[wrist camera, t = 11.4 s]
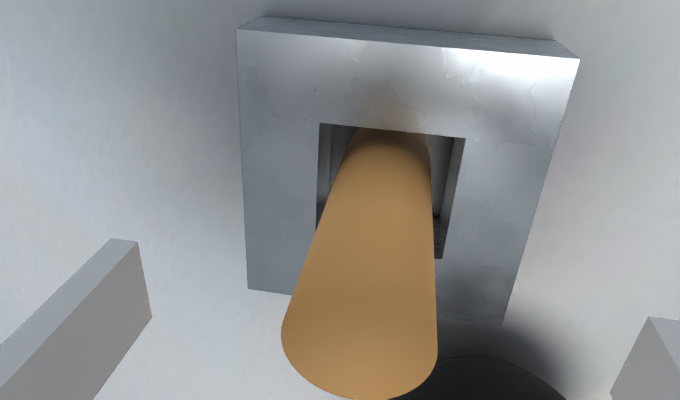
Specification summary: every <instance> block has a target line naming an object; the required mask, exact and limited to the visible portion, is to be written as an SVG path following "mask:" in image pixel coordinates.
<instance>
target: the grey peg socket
mask: <svg viewBox="0 0 680 400" xmlns="http://www.w3.org/2000/svg"><path fill="white" fill-rule="evenodd" d="M236 48H237V69H238V90H239V111H240V132H241V153H242V175H243V196H244V217H245V238H246V259H247V281H248V289H253V290H260V291H266V292H273V293H280V294H287V295H293V293H294V290H295V287H296V284H297V282H298V279H299V276H300V273H301V271H302V268H303V265H304V263H305V260H306V257H307V254H308V252H309V249H310V246H311V243H312V241H313V238H314V235H315V232H316V230H317V227H318V224H319V222H320V219H321V216H322V213H323V211H324V208H325V205H326V202H327V200H328V197H329V182H330V163H331V144H332V124H337V125H346V126H356V127H365V128H375V129H384V130H393V131H403V132H412V133H421V134H431V135H440V136H449V137H454V143H453V148H452V154H451V159H450V164H449V170H448V175H447V181H446V186H445V191H444V197H443V202H442V208H441V213H440V218H439V219H438V218H433V242H434V267H435V293H436V316H437V317H444V318H451V319H458V320H465V321H472V322H478V323H485V324H492V325H499V326H502V322H503V319H504V315H505V312H506V309H507V305H508V302H509V299H510V295H511V292H512V288H513V285H514V282H515V278H516V275H517V272H518V268H519V265H520V261H521V258H522V255H523V251H524V248H525V245H526V241H527V238H528V234H529V231H530V228H531V224H532V221H533V218H534V214H535V211H536V207H537V204H538V201H539V197H540V194H541V191H542V187H543V184H544V180H545V177H546V174H547V170H548V167H549V164H550V160H551V157H552V153H553V150H554V147H555V143H556V140H557V137H558V133H559V130H560V126H561V123H562V120H563V116H564V113H565V110H566V106H567V103H568V99H569V96H570V93H571V89H572V86H573V83H574V79H575V76H576V72H577V69H578V66H579V62H580V59H579V58H578V57H577V56H575V55H574V54H573V53H571V52H570V51H568V50H567V49H566V48H564V47H563V46H562V45H560V44H559V43H558V42H556V41H555V40H543V39H531V38H519V37H507V36H495V35H483V34H471V33H459V32H447V31H436V30H424V29H412V28H400V27H388V26H376V25H364V24H352V23H340V22H328V21H317V20H305V19H293V18H281V17H269V16H263V17H261V18H258V19H256V20H254V21H252V22H250V23H248V24H246V25H243V26H241V27H239V28H237V29H236Z"/></svg>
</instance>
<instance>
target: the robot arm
mask: <svg viewBox="0 0 680 400" xmlns="http://www.w3.org/2000/svg"><path fill="white" fill-rule="evenodd" d="M151 318H152V315H151V309H150V304H149V299H148V294H147V289H146V284H145V278H144V273H143V268H142V263H141V258H140V253H139V247H138V242H134V241H127V240H120V239H113V238H111V239H110V240H109V241H108V242H107V243H106V244H105V245H104V246H103V247H102V248H101V249H100V250H98V251H97V252H96V253H95V254H94V255H93V256H92V257H91V258H90V259H89V260H88V261H87V262H86V263H85V264H84V265H83V266H82V267H81V268H80V269H79V270H78V271H77V272H76V273H75V274H74V275H73V276H72V277H71V278H70V279H69V280H67V281H66V282H65V283H64V284H63V285H62V286H61V287H60V288H59V289H58V290H57V291H56V292H55V293H54V294H53V295H52V296H51V297H50V298H49V299H48V300H47V301H46V302H45V303H44V304H43V305H42V306H41V307H40V308H39V309H38V310H36V311H35V312H34V313H33V314H32V315H31V316H30V317H29V318H28V319H27V320H26V321H25V322H24V323H23V324H22V325H21V326H20V327H19V328H18V329H17V330H16V331H15V332H14V333H13V334H12V335H11V336H10V337H9V338H8V339H7V340H5V341H4V342H3V343H2V344H1V345H0V400H93V399H94V397H95V396H96V395H97V393H98V392H99V391H100V389H101V388H102V386H103V385H104V384H105V382H106V381H107V379H108V378H109V377H110V375H111V374H112V372H113V371H114V370H115V368H116V367H117V365H118V364H119V363H120V361H121V360H122V358H123V357H124V356H125V354H126V353H127V351H128V350H129V349H130V347H131V346H132V344H133V343H134V342H135V340H136V339H137V337H138V336H139V335H140V333H141V332H142V330H143V329H144V328H145V326H146V325H147V323H148V322H149V321H150V319H151ZM610 394H611V396H612V399H613V400H680V321H677V320H670V319H664V318H657V317H650V316H648V318H647V320H646V322H645V324H644V326H643V328H642V330H641V332H640V334H639V336H638V338H637V340H636V342H635V344H634V346H633V348H632V350H631V352H630V354H629V356H628V358H627V359H626V361H625V363H624V365H623V367H622V369H621V371H620V373H619V375H618V377H617V379H616V381H615V383H614V385H613V387H612V389H611V391H610Z"/></svg>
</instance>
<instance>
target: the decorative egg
mask: <svg viewBox="0 0 680 400" xmlns="http://www.w3.org/2000/svg"><path fill="white" fill-rule="evenodd" d="M389 400H566V399H565V398H564V397H563V396H562V395H561V394H560V393H558V392H557V391H556V390H555V389H553V388H552V387H551V386H549V385H548V384H547V383H545V382H544V381H543V380H541V379H539V378H538V377H536V376H534V375H533V374H531V373H529V372H527V371H525V370H523V369H521V368H519V367H516V366H514V365H512V364H509V363H506V362H502V361H499V360H495V359H489V358H482V357H460V358H454V359H449V360H444V361H441V362H438V363H436V364H435V366H434V368H433V370H432V372H431V373H430V375H429V376H428V377H427V379H426V380H425V381H424V382H423V383H421V384H420V385H419V386H418V387H416V388H415V389H413V390H411V391H409V392H408V393H405V394H403V395H400V396H397V397H394V398H390V399H389Z"/></svg>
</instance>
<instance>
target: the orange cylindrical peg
mask: <svg viewBox="0 0 680 400" xmlns="http://www.w3.org/2000/svg"><path fill="white" fill-rule="evenodd" d="M281 341H282V345H283V349H284V352H285V354H286V356H287V358H288V360H289V361H290V363H291V364H292V366H293V367H294V368H295V369H296V371H297V372H298V373H299V374H300V375H302V376H303V377H304V378H305V379H306V380H308V381H309V382H310V383H312V384H313V385H315V386H317V387H318V388H320V389H322V390H324V391H327V392H329V393H331V394H334V395H337V396H341V397H344V398H349V399H355V400H384V399H390V398H394V397H397V396H400V395H403V394H405V393H408V392H409V391H411V390H413V389H415V388H416V387H418V386H419V385H420V384H421V383H423V382H424V381H425V380H426V379H427V377H428V376H429V375H430V373H431V372H432V370H433V368H434V366H435V363H436V360H437V353H438V344H437V318H436V293H435V267H434V242H433V217H432V191H431V166H430V151H429V147H428V145H427V142H426V140H425V139H424V137H423V136H422V134H421V133H412V132H403V131H393V130H384V129H375V128H365V127H360V128H359V129H358V130H357V131H356V132H355V133H354V134H353V135H352V137H351V139H350V140H349V143H348V145H347V148H346V150H345V153H344V156H343V159H342V161H341V164H340V167H339V170H338V172H337V175H336V178H335V181H334V183H333V186H332V189H331V191H330V194H329V197H328V200H327V202H326V205H325V208H324V211H323V213H322V216H321V219H320V222H319V224H318V227H317V230H316V232H315V235H314V238H313V241H312V243H311V246H310V249H309V252H308V254H307V257H306V260H305V263H304V265H303V268H302V271H301V273H300V276H299V279H298V282H297V284H296V287H295V290H294V293H293V295H292V298H291V301H290V304H289V306H288V309H287V312H286V314H285V317H284V320H283V324H282V328H281Z"/></svg>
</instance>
